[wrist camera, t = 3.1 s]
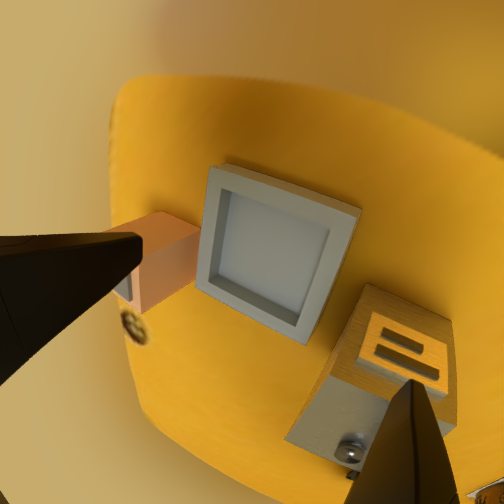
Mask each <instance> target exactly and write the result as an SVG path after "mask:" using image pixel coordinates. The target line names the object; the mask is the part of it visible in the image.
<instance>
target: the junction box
mask: <svg viewBox="0 0 504 504" xmlns="http://www.w3.org/2000/svg"><path fill="white" fill-rule="evenodd" d="M409 379H414V380H417V381H419V382H421V383H423V384H424V386H425V389H426V392H427V394H428V397H429V400H430V402H431V405H432V408H433V411H434V413H435V416H436V419H437V422H438V425H439V428H440V431H441V434H442V437H444V436H445V435H446V434H447V433H449V432H450V431H451V430H452V429H453V428H455V427H456V426H457V375H456V359H455V347H454V338H453V329H452V322H451V321H450V320H448V319H445V318H443V317H441V316H439V315H437V314H435V313H433V312H430V311H428V310H426V309H424V308H422V307H420V306H417V305H415V304H413V303H411V302H409V301H406V300H404V299H402V298H400V297H398V296H396V295H393V294H391V293H389V292H387V291H384V290H382V289H380V288H378V287H376V286H373V285H371V284H369V283H366V285H365V287H364V289H363V291H362V293H361V295H360V298H359V300H358V302H357V304H356V306H355V308H354V310H353V312H352V314H351V316H350V318H349V320H348V322H347V324H346V326H345V328H344V330H343V332H342V334H341V335H340V337H339V339H338V341H337V343H336V345H335V347H334V348H333V350H332V352H331V354H330V356H329V358H328V360H327V362H326V364H325V366H324V368H323V370H322V372H321V374H320V376H319V378H318V380H317V382H316V384H315V386H314V388H313V390H312V392H311V394H310V395H309V397H308V399H307V401H306V403H305V405H304V406H303V408H302V410H301V412H300V413H299V415H298V417H297V419H296V420H295V422H294V424H293V426H292V427H291V429H290V431H289V432H288V434H287V436H286V437H285V439H284V440H286V441H288V442H290V443H292V444H294V445H296V446H298V447H300V448H302V449H305V450H307V451H309V452H311V453H313V454H316V455H318V456H320V457H323V458H325V459H327V460H330V461H332V462H335V463H337V464H340V465H342V466H345V467H348V468H350V469H353V470H356V471H359V472H361V470H362V467H363V465H364V462H365V460H366V457H367V454H368V452H369V449H370V447H371V445H372V442H373V440H374V438H375V436H376V434H377V431H378V429H379V427H380V425H381V422H382V420H383V418H384V415H385V413H386V410H387V408H388V405H389V403H390V401H391V399H392V397H393V396H394V395H395V394H396V393H397V392H398V391H399V390H400V388H401V387H402V386H403V385H404V384H405V383H406V382H407V381H408V380H409Z"/></svg>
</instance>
